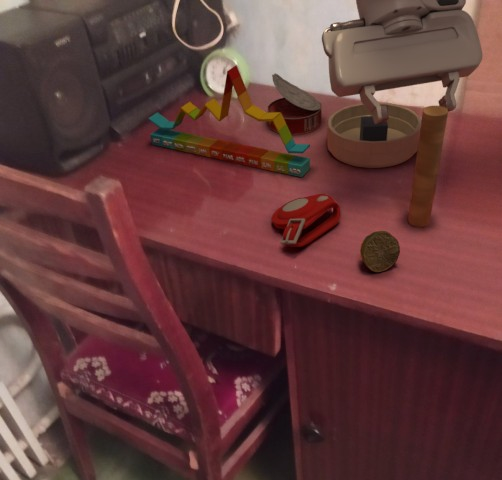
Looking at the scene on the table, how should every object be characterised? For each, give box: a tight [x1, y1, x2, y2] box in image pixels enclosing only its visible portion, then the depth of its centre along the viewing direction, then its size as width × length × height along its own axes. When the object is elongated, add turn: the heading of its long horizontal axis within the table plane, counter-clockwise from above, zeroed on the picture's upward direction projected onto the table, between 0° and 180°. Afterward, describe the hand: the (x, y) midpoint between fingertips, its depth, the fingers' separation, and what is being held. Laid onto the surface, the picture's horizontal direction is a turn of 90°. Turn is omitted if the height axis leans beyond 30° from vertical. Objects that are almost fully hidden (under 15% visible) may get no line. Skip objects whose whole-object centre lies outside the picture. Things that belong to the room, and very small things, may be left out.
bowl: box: [326, 102, 422, 169], centre depth 98 cm, size 15×15×4 cm
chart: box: [148, 64, 311, 178], centre depth 96 cm, size 30×3×15 cm, turn 60°
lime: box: [359, 230, 401, 273], centre depth 75 cm, size 4×5×5 cm
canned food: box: [267, 73, 323, 136], centre depth 107 cm, size 11×10×10 cm
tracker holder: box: [271, 193, 341, 248], centre depth 82 cm, size 12×4×10 cm
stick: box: [407, 105, 449, 228], centre depth 77 cm, size 3×3×16 cm
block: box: [360, 116, 388, 141], centre depth 98 cm, size 4×4×4 cm
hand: (415, 116), depth 77 cm, fingers open, 8 cm apart
